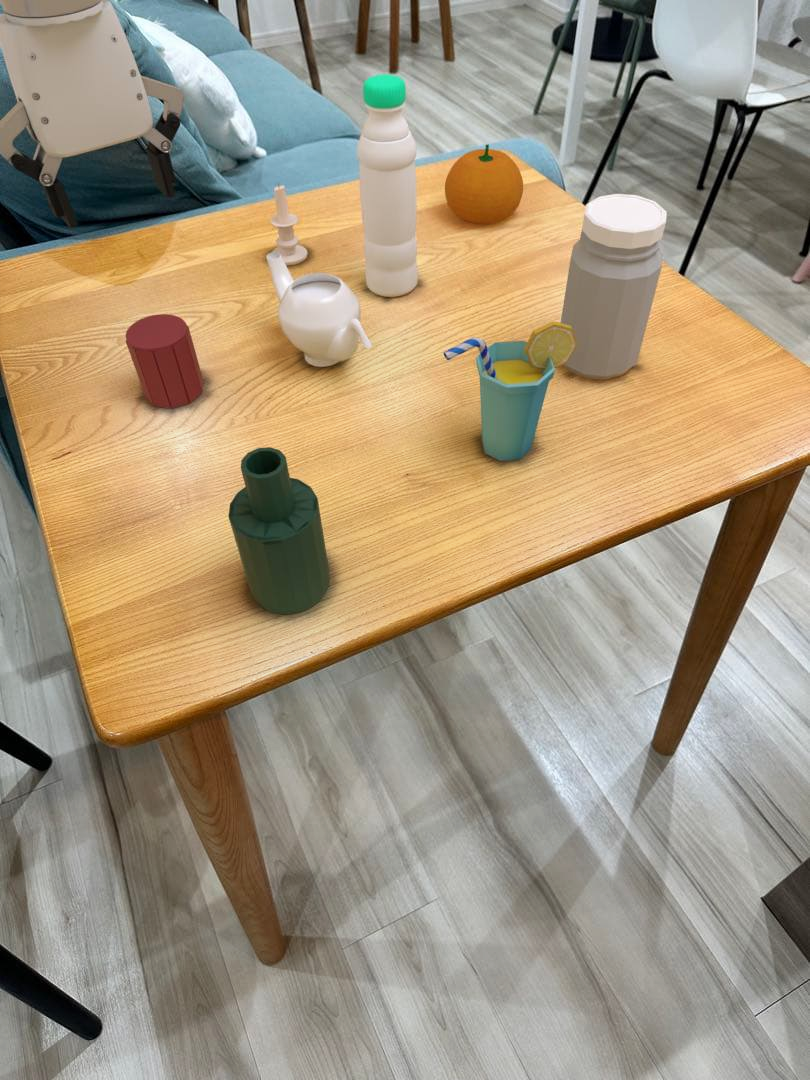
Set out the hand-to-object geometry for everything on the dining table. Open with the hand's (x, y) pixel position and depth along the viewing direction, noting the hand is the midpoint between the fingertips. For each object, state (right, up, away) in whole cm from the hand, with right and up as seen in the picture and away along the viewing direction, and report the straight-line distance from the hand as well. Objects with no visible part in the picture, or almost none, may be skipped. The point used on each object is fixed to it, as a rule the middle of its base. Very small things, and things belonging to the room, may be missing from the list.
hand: (119, 206), depth 71 cm
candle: (+11, +9, +36) cm, 39 cm away
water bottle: (+26, +3, +30) cm, 40 cm away
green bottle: (+17, -36, -3) cm, 40 cm away
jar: (+50, -10, +19) cm, 54 cm away
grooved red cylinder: (0, -14, +16) cm, 22 cm away
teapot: (+17, -9, +20) cm, 28 cm away
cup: (+37, -22, +9) cm, 44 cm away
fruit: (+39, +18, +43) cm, 61 cm away
